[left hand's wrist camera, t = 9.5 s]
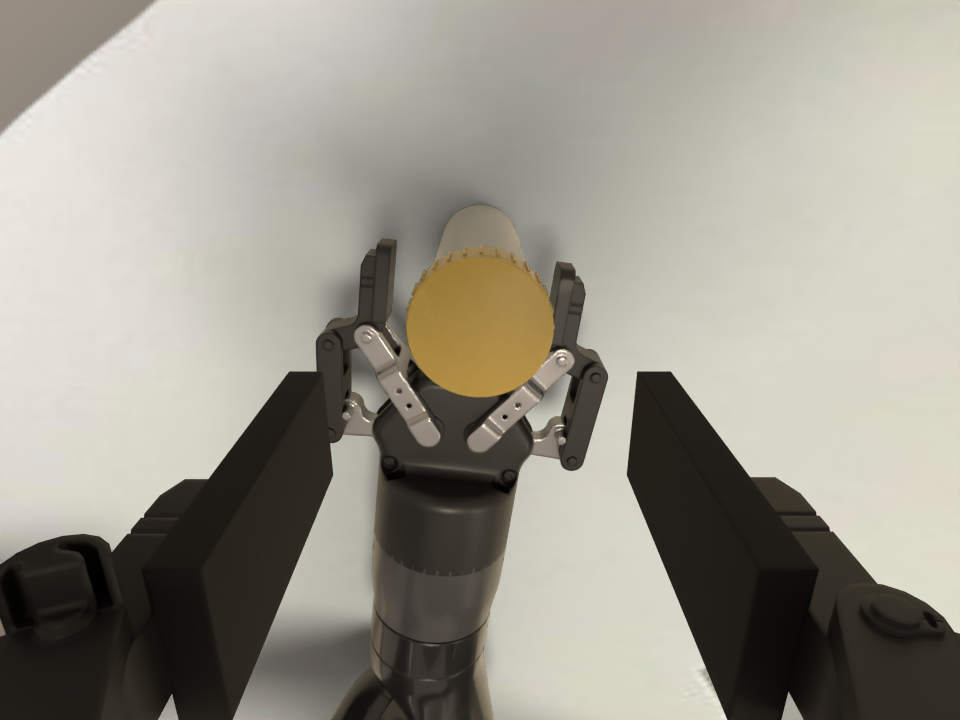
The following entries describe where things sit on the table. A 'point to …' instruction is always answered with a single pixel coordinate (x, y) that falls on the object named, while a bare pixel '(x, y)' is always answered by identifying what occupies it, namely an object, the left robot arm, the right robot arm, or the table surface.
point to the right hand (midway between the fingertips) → (476, 253)
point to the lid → (479, 322)
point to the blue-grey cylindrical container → (480, 231)
